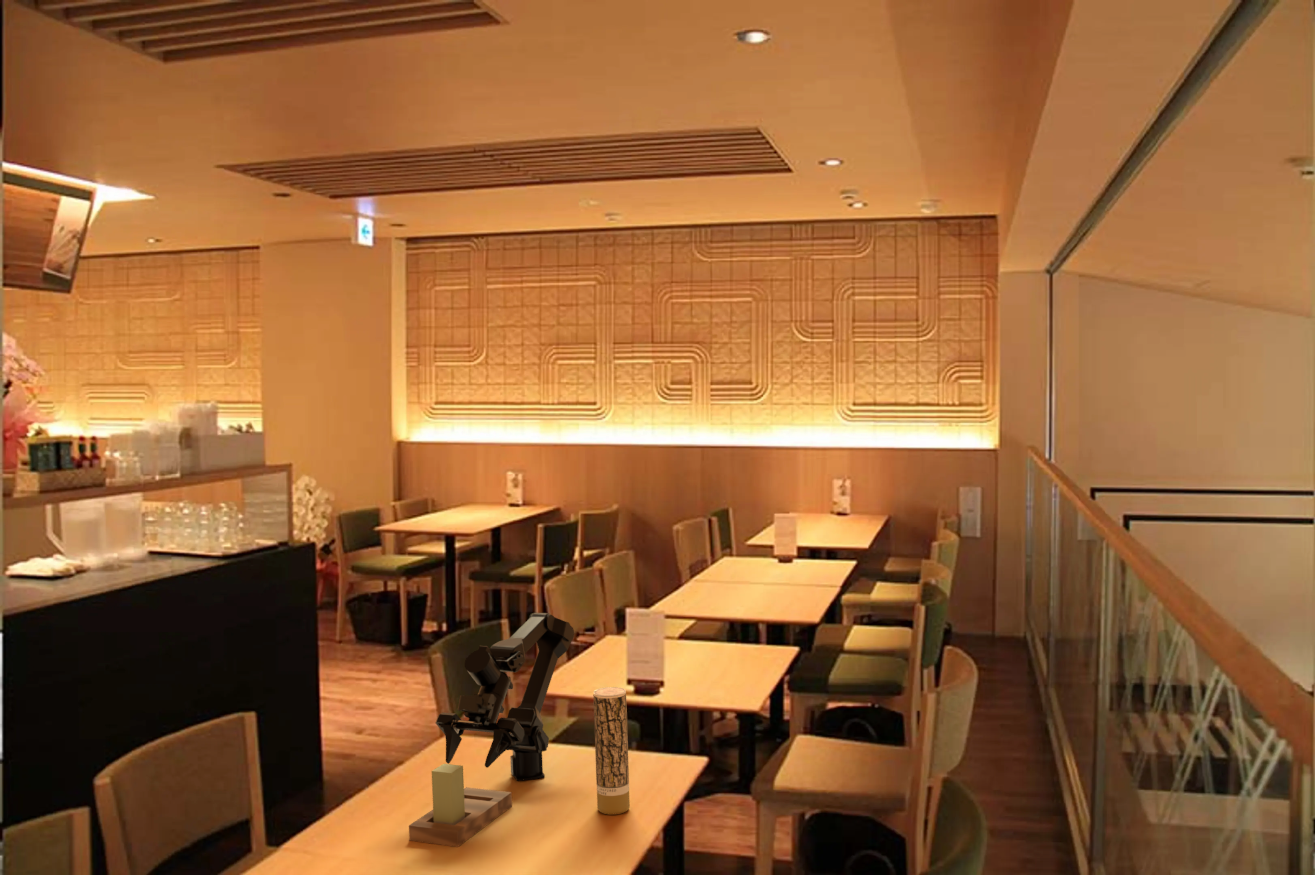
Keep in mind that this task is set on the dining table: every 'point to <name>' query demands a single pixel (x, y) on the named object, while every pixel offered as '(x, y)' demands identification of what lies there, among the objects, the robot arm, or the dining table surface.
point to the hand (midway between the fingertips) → (466, 764)
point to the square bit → (448, 794)
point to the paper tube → (611, 750)
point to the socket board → (478, 814)
